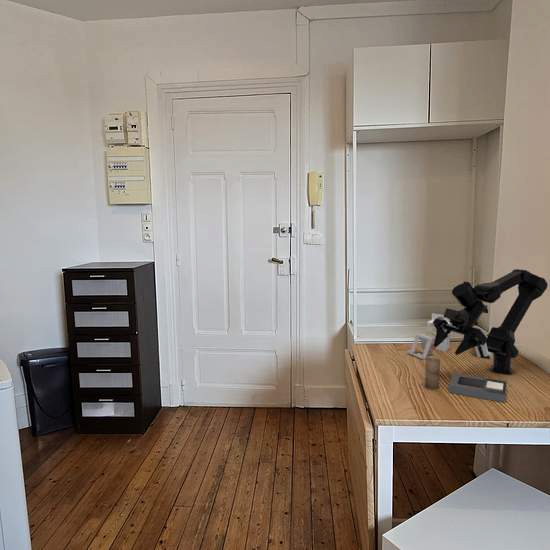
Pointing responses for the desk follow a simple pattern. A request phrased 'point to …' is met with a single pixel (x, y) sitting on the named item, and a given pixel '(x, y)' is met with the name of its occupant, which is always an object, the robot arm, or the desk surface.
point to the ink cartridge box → (432, 333)
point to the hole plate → (490, 389)
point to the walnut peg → (432, 372)
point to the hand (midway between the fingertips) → (444, 350)
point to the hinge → (482, 350)
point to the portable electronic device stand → (425, 343)
